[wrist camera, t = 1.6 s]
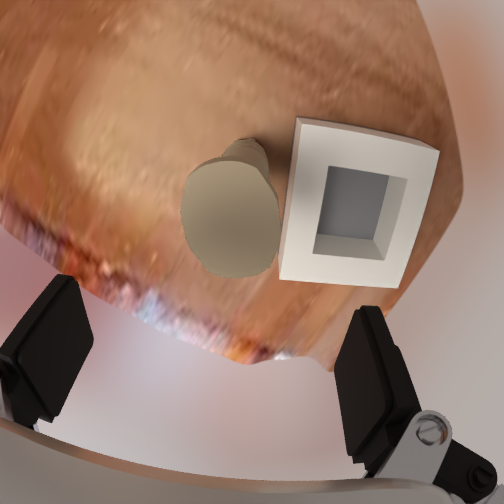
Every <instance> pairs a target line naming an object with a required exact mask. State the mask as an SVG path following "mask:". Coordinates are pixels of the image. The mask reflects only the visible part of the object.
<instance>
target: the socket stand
mask: <svg viewBox="0 0 504 504" xmlns="http://www.w3.org/2000/svg"><path fill="white" fill-rule="evenodd" d="M439 153H440V151H439V150H437V149H435V148H433V147H431V146H429V145H427V144H425V143H423V142H421V141H420V140H418V139H415V138H411V137H407V136H403V135H399V134H394V133H390V132H385V131H381V130H376V129H371V128H366V127H361V126H356V125H350V124H345V123H339V122H333V121H327V120H320V119H314V118H306V117H299V116H296V119H295V127H294V135H293V144H292V152H291V159H290V167H289V175H288V183H287V190H286V198H285V205H284V212H283V220H282V227H281V239H280V243H279V248H278V261H279V279H282V280H293V281H306V282H318V283H331V284H344V285H357V286H371V287H386V288H398V286H399V284H400V281H401V279H402V276H403V273H404V271H405V268H406V265H407V262H408V260H409V257H410V254H411V251H412V248H413V245H414V242H415V239H416V236H417V233H418V230H419V227H420V224H421V220H422V217H423V214H424V211H425V207H426V204H427V200H428V197H429V193H430V189H431V186H432V182H433V178H434V174H435V170H436V166H437V162H438V158H439Z"/></svg>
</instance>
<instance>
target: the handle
mask: <svg viewBox="0 0 504 504" xmlns="http://www.w3.org/2000/svg"><path fill="white" fill-rule="evenodd" d="M268 177H269V164H268V159H267V156H266V153H265V151H264V149H263V148H262V147H261V146H260V145H259V144H258V143H256V140H255V139H253V138H249V139H246V140H240V139H238V140H236V141H235V142H234V143H233V144H231V145H230V146H229V147H228V148H227V149H226V150H225V152H224V153H223V155H222V156H221V157H218V158H214V159H211V160H208V161H206V162H204V163H202V164H201V165H199V166H198V167H197V168H196V169H195V170H193V171H192V172H191V174H190V175H189V176H188V178H187V181H186V185H185V189H184V193H183V197H182V202H181V210H180V213H181V220H182V225H183V229H184V233H185V237H186V240H187V243H188V245H189V247H190V249H191V251H192V252H193V254H194V255H195V256H196V258H197V259H198V260H199V261H200V262H201V264H202V265H203V266H204V267H205V268H206V269H207V271H208V272H209V273H212V274H214V275H216V276H220V277H224V278H245V277H251V276H254V275H258V274H260V273H262V272H263V271H265V270H267V269H268V268H269V267H270V266H271V263H272V261H273V259H274V257H275V254H276V252H277V249H278V247H279V243H280V239H281V222H280V212H279V203H278V196H277V193H276V191H275V189H274V188H273V186H272V184H271V182H270V181H269V179H268Z"/></svg>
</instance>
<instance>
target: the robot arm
mask: <svg viewBox="0 0 504 504" xmlns="http://www.w3.org/2000/svg"><path fill="white" fill-rule="evenodd" d="M93 341H94V337H93V334H92V330H91V327H90V324H89V321H88V317H87V314H86V310H85V307H84V303H83V299H82V296H81V292H80V288H79V284H78V282H77V281H75V279H74V277H73V276H69V275H63V274H57V275H56V276H55V277H54V278H53V280H52V281H51V282H50V283H49V285H48V286H47V287H46V288H45V290H44V291H43V292H42V293H41V294H40V296H39V297H38V298H37V299H36V301H35V302H34V303H33V304H32V306H31V307H30V308H29V309H28V311H27V312H26V313H25V315H24V316H23V317H22V319H21V320H20V321H19V322H18V324H17V325H16V327H15V328H14V329H13V331H12V332H11V333H10V335H9V336H8V338H7V339H6V340H5V342H4V343H3V345H2V346H1V347H0V504H504V485H503V484H501V485H499V486H498V484H497V472H496V469H495V468H494V466H493V465H492V464H491V463H490V462H489V461H488V460H486V459H484V458H483V457H481V456H479V455H478V454H476V453H474V452H473V451H471V450H469V449H468V448H466V447H464V446H463V445H461V444H459V443H458V442H456V441H454V440H453V439H451V438H452V428H451V425H450V423H449V421H448V420H447V419H446V418H445V417H444V416H443V415H441V414H440V413H438V412H436V411H432V410H431V411H430V410H425V411H422V410H421V407H420V404H419V401H418V398H417V395H416V392H415V389H414V386H413V384H412V381H411V378H410V375H409V372H408V370H407V367H406V364H405V361H404V359H403V357H402V354H401V351H400V349H399V347H398V346H396V345H395V344H394V342H393V339H392V337H391V334H390V332H389V329H388V327H387V324H386V322H385V319H384V317H383V314H382V312H381V309H380V308H379V307H378V306H365V305H363V306H361V307H360V309H359V310H355V311H354V314H353V317H352V320H351V322H350V325H349V328H348V331H347V333H346V336H345V339H344V342H343V344H342V347H341V349H340V352H339V355H338V357H337V360H336V362H335V366H334V374H335V380H336V386H337V392H338V398H339V404H340V410H341V416H342V422H343V429H344V435H345V443H346V450H347V454H348V455H349V456H352V458H353V463H354V464H355V463H364V465H365V470H367V471H366V473H365V474H364V476H363V477H362V478H361V479H346V480H326V481H264V480H246V479H234V478H223V477H213V476H206V475H198V474H191V473H184V472H178V471H172V470H167V469H162V468H156V467H151V466H147V465H142V464H137V463H134V462H130V461H126V460H122V459H118V458H114V457H110V456H107V455H103V454H100V453H96V452H93V451H90V450H87V449H83V448H80V447H77V446H74V445H71V444H69V443H66V442H63V441H60V440H57V439H55V438H52V437H49V436H47V435H44V434H42V433H39V429H38V426H37V420H38V418H40V419H42V420H44V421H47V422H50V423H52V422H53V420H54V417H56V416H58V415H59V413H60V412H61V409H62V407H63V405H64V403H65V401H66V399H67V396H68V394H69V392H70V390H71V388H72V386H73V384H74V382H75V380H76V378H77V375H78V373H79V371H80V369H81V367H82V365H83V363H84V361H85V359H86V357H87V355H88V353H89V351H90V350H91V348H92V346H93Z"/></svg>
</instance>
